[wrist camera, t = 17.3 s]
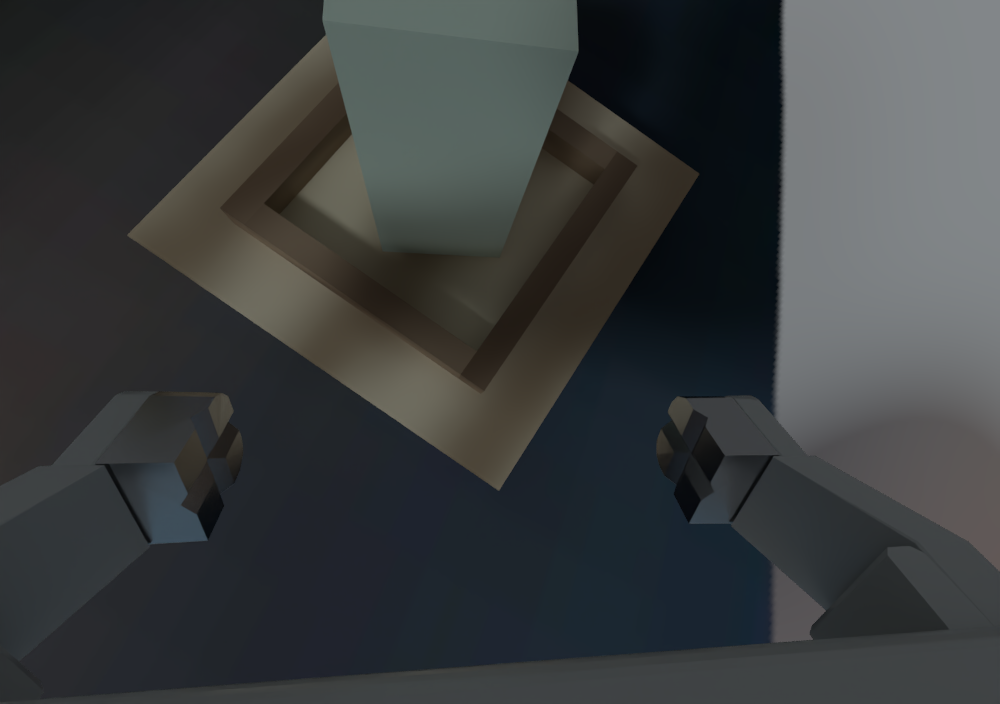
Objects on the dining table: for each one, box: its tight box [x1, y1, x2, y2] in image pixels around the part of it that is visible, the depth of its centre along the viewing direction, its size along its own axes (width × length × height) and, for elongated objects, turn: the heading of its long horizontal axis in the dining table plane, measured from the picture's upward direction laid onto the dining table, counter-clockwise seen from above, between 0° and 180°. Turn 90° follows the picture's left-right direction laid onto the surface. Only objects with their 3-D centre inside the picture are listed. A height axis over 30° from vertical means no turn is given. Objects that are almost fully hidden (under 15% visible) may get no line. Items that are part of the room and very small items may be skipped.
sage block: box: [323, 0, 579, 258], centre depth 13 cm, size 4×4×10 cm
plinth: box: [127, 35, 699, 490], centre depth 19 cm, size 16×16×4 cm
